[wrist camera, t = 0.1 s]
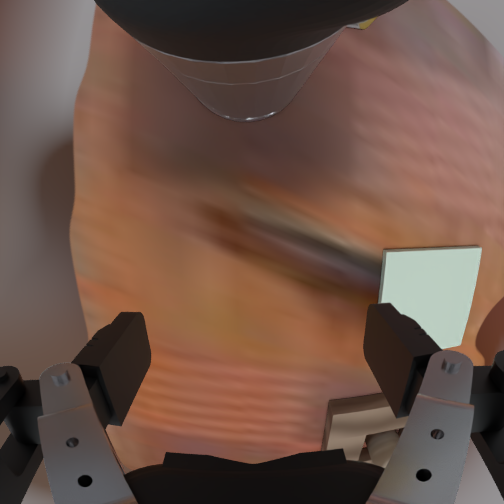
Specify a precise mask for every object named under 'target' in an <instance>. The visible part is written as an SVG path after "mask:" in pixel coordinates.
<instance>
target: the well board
mask: <svg viewBox="0 0 504 504" xmlns="http://www.w3.org/2000/svg"><path fill="white" fill-rule="evenodd" d="M408 417H409V416H406V417H402V418H397V419H396V417H395V415H394V413H393V411H392V409H391V407H390V405H389V403H388V401H387V399H386V397H385V396H384V394H383V393H380V394H373V395H367V396H360V397H353V398H346V399H338V400H329V406H328V413H327V419H326V425H325V431H324V437H323V442H322V448H321V451H325V450H333V449H340V448H343V450H344V453H345V457H346V460H355V461H362V462H367V463H371V464H373V463H372V460H371V457H370V454H369V451H368V448H367V447H366V448H362V447H363V444H364V441H365V438H366V435H369V434H375V433H380V432H385V431H390V430H394V429H399V428H400V429H399V432H398V436H399V438H400V436H401V434H402V431H403V429H404V427H405V424H406V422H407V419H408Z"/></svg>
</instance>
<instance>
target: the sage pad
mask: <svg viewBox="0 0 504 504" xmlns="http://www.w3.org/2000/svg"><path fill="white" fill-rule="evenodd" d="M481 251H482V248H481V247H479V246H460V247H437V248H413V249H390V250H383V261H382V272H381V282H380V291H379V299H378V304H379V303H391V304H392V305H393V306H394V307H395V308H396V309H397V310H398V311H399V312H400V314H404V315H406V316H408V317H410V318H412V319H414V320H415V321H416V322H417V323H418V324H419V325H420V326H421V329H422V328H423V329H424V330H425V331H426V332H427V335H429V336H430V337H431V338H432V339H433V340H434V341H435V342H436V343H437V344H438V346H439V347H440V348H441V349H445V348H450V347H454V346H459V345H461V341H462V338H463V334H464V331H465V327H466V323H467V320H468V316H469V312H470V308H471V303H472V299H473V294H474V290H475V285H476V280H477V275H478V269H479V263H480V257H481Z"/></svg>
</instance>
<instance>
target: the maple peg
mask: <svg viewBox="0 0 504 504" xmlns="http://www.w3.org/2000/svg"><path fill="white" fill-rule="evenodd" d="M398 440H399V436H398V434H397V432H396V429H394V430H390V431H385V432H380V433H375V434H369V435H366V438H365V442H366V445H367V448H368V451H369V454H370V457H371V460H372V463H373V464H375V465H378V466H381V467H383V468H386V466H387V464H388V462H389V460H390V458H391V456H392V453H393V451H394V449H395V447H396V445H397V443H398Z"/></svg>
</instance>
